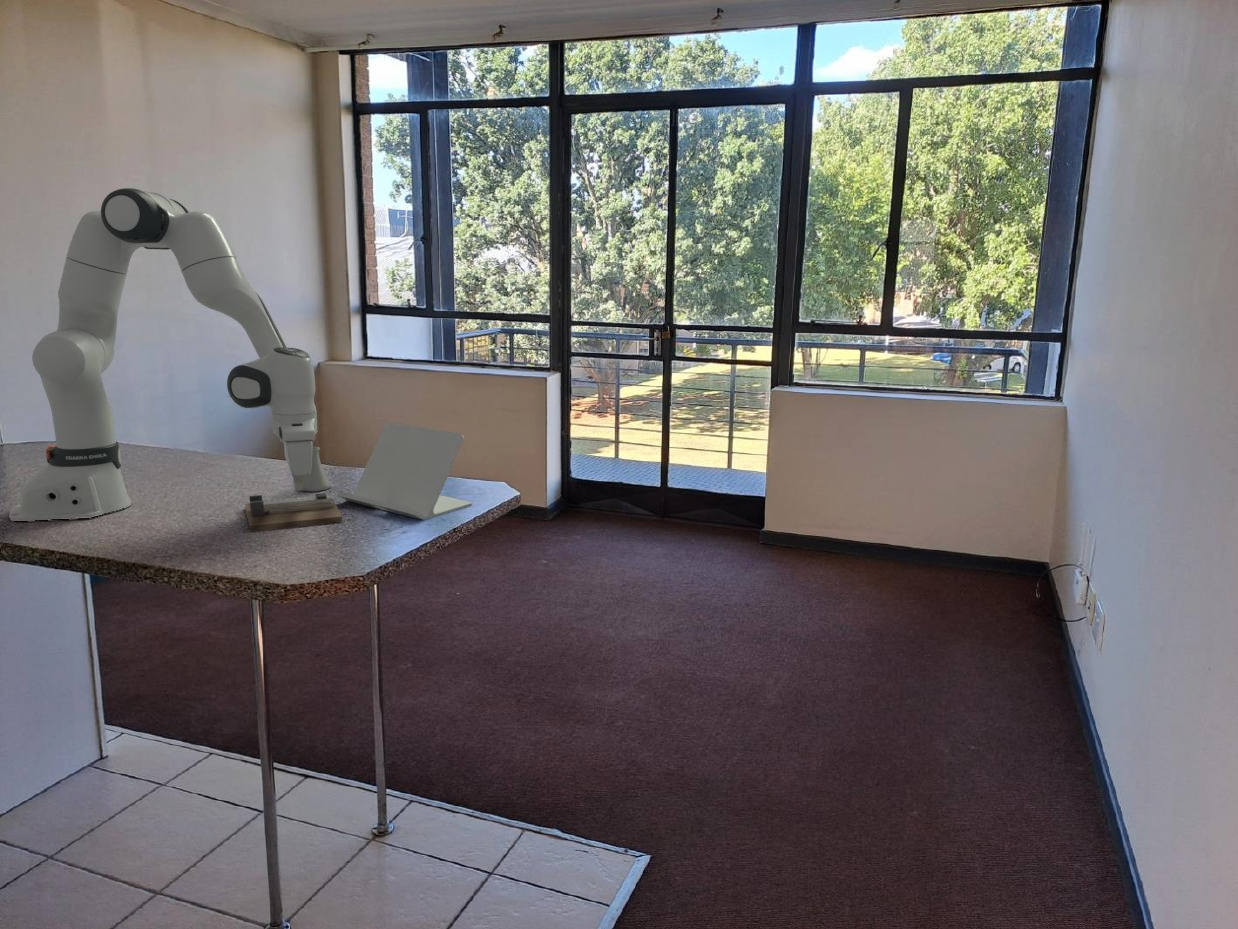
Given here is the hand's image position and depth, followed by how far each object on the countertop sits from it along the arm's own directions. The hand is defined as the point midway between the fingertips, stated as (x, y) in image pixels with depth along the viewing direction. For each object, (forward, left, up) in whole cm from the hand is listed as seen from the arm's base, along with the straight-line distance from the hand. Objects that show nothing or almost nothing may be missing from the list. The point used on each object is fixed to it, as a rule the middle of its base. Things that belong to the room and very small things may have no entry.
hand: (298, 488), depth 188 cm
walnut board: (-1, 0, -6) cm, 6 cm away
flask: (+6, +22, -6) cm, 24 cm away
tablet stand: (+22, 0, -6) cm, 23 cm away
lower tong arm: (-1, 0, -5) cm, 5 cm away
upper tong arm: (-1, 0, -4) cm, 4 cm away
